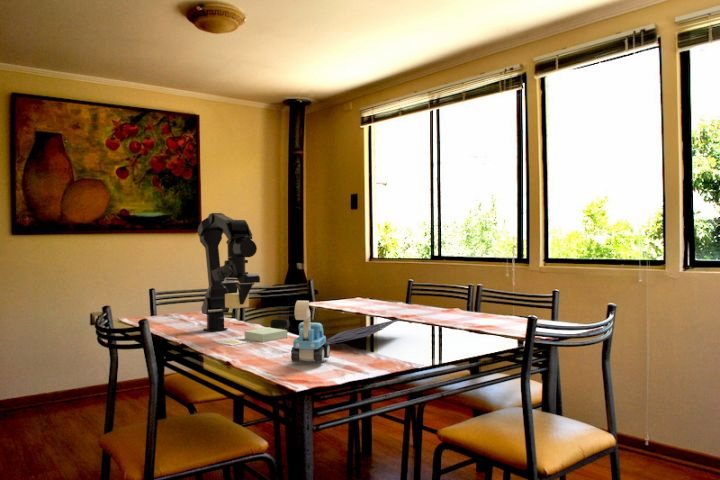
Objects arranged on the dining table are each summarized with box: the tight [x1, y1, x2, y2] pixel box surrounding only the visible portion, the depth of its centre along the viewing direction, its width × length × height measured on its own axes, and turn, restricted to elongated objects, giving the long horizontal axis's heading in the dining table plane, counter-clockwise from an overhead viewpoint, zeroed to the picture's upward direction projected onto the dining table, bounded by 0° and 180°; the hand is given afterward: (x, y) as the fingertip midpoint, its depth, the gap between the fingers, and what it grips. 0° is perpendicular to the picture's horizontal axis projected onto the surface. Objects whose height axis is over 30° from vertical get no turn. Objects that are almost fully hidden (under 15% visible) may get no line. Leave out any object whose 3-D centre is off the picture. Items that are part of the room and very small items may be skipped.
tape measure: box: [269, 318, 291, 330], centre depth 199 cm, size 7×7×4 cm
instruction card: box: [217, 339, 248, 347], centre depth 175 cm, size 8×6×1 cm
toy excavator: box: [290, 300, 331, 363], centre depth 145 cm, size 9×17×17 cm, turn 170°
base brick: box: [244, 326, 288, 343], centre depth 182 cm, size 10×10×3 cm
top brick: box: [225, 292, 250, 309], centre depth 182 cm, size 5×6×4 cm
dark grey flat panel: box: [326, 318, 401, 345], centre depth 177 cm, size 24×30×4 cm
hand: (237, 303), depth 182 cm, fingers closed on top brick, 5 cm apart
